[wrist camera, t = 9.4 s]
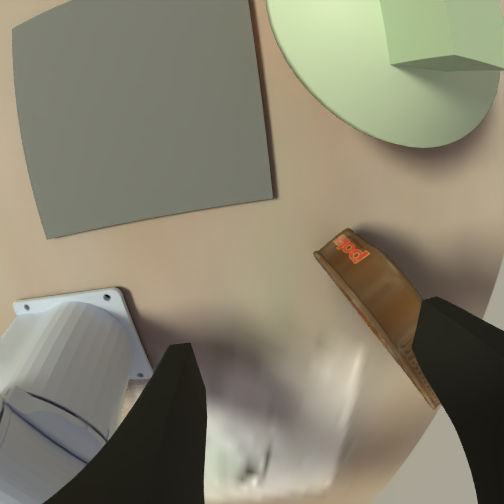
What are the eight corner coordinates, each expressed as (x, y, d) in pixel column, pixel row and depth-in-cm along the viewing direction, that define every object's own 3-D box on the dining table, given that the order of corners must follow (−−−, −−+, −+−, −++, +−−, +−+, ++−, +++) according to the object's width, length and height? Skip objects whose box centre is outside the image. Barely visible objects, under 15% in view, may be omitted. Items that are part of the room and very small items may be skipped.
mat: (49, 237, 17) (46, 239, 17) (15, 29, 11) (12, 28, 11) (271, 196, 18) (273, 198, 17) (241, -35, 12) (242, -38, 12)
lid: (284, 153, 12) (324, 177, 8) (248, -94, 7) (263, -157, 3) (496, 146, 13) (562, 168, 8) (465, -49, 7) (520, -67, 3)
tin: (295, 234, 19) (346, 316, 11) (336, 201, 18) (411, 264, 11) (392, 357, 25) (435, 429, 17) (420, 334, 24) (470, 402, 16)
